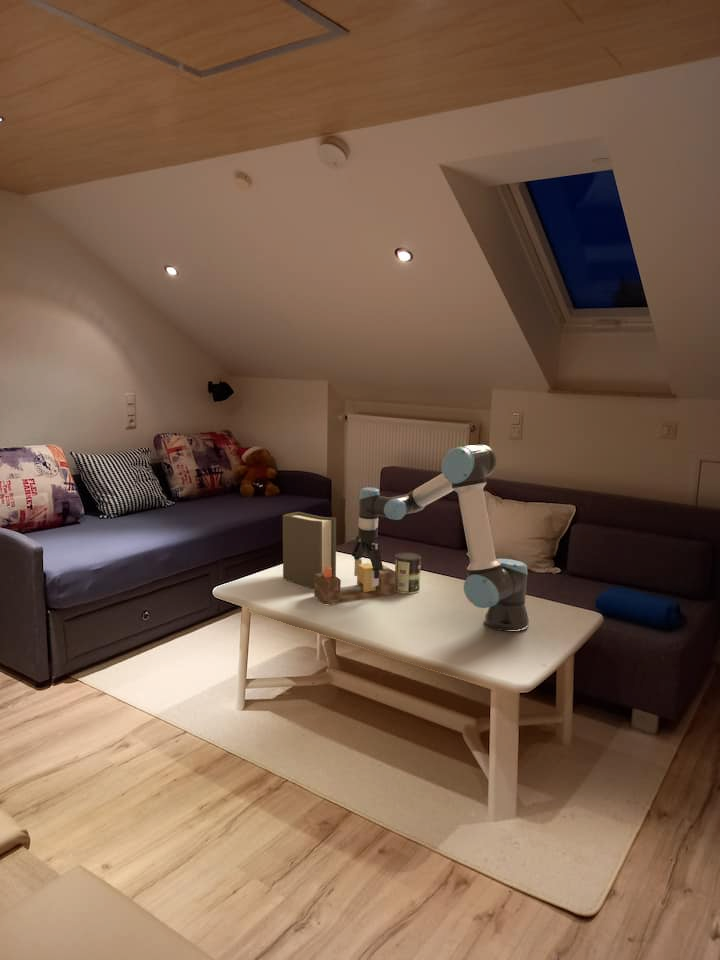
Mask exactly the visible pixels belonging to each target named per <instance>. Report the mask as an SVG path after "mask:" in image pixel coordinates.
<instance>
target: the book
mask: <svg viewBox="0 0 720 960" xmlns="http://www.w3.org/2000/svg"><path fill="white" fill-rule="evenodd" d="M324 567H331V568H332V574H333V575H334V576H336V577H337V517H326V516H319V515H314V514H311V513H306V512H301V511H295V512H289V513H285V514H283V515H282V578H283V579H282V580H284V579H286V580H285V581H288V580H289V581H288V582H291V581H293V582H292V583H295V582H296V583H295V584H300V585H303V586H306V587H310V588H311V589H314V584H315V574H319V573H324Z"/></svg>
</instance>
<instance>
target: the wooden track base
mask: <svg viewBox="0 0 720 960" xmlns="http://www.w3.org/2000/svg"><path fill="white" fill-rule="evenodd" d="M382 566H383V569H382V570H379V583H378V586H376V590H375V591H369V592H363V591H362V592H356V593H349V594H343V595H340V588H341V587H342V586H341V584H342V583H341V582H342V579H340V578H339V577H338V576H337V575H336V576H334V575H333V574H332V578H329V579H324V573H319V574H315V584H314V591H313V592H314V593H313V594H314V595H313V596H315V597H314V598H316V597H317V598H318V599H319V601H320V602H321V601H322V602H323V604H324V605H325V604H329V605H332V604H333V603H335V604H340V603H341V604H342V603H345V602H353V601H359V600H365V599H371V598H376V597H377V598H378V597H383V596H389V595H395V594H396V593H395V592H396V591H395V570H393V569H391V568H389V567H387V566H385V565H384V564H382ZM317 598H316V599H317ZM318 599H317V600H318ZM322 602H321V603H322ZM333 605H334V604H333Z"/></svg>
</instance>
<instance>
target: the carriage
mask: <svg viewBox="0 0 720 960" xmlns="http://www.w3.org/2000/svg"><path fill="white" fill-rule="evenodd" d="M372 569H373V567H372V563H371V562H370V563H369V562H365V563H362V564H358V567H357V576H356V585H361V584H363V592H369V591H375V590H376V586H373V587H372V586H371V581H372Z"/></svg>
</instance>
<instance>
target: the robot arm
mask: <svg viewBox="0 0 720 960" xmlns="http://www.w3.org/2000/svg"><path fill="white" fill-rule="evenodd" d="M497 464H498V459H497V455H496V453H495V450H493V448H491V447H490V446H488V445H486V444H481V443H479V444H478V443H477V444H473V445H472V444H471V445H461V446H460V445H459V446H458V447H454V448H451V449H450V450H448V451H447V452H446V454H445V456H444V457H443V459H442V463H441V471H442V473H440V474H439V475H437V476H435V477H434V478H432V479H430V480H429V481H427V482H425V483H423V484H422V485H419V486H418V487H416V488H415V489H413V490H411V491H410V492H408V493H406V494H401V495H396V496H391V497H388V496H383V495H380V489H379V488H377V487H372V486H371V487H369V486H368V487H363V488H361V489H360V490H359V498H358V501H359V503H358V510H359V511H358V531H357V532H358V534H357V536H356V537H355V538H356V540H355V543H354V545H353V546H354V547H353V548H352V552H351V557H353V559H354V572H353V574H354V575H353V576H355V577H357V567H358V564H363V563H362V562H363V557H362V556H363V554H364V553H365V552H366V554H367V555H368V557H369V560H370V564H371V565H372V567H373V569H372V581H371V586H372V587H373V586H378V583H379V570H382V569H383V566H382V565H383V562H382V557H381V550H380V544H379V543H375V542H376V541H375V540H376V539H377V538H378V537H379V536H378V535H379V534H378V533H379V529H378V528H379V520H380V519H379V516H380V517H382V518H387V519H389V520H396V521H401V520H402V519H403V518H404V517H405V515H408V514H414V513H418V512H420V511H422V510H425V507H426V506H428V505H430V504H431V503H433V502H435V501H437V500H438V499H441V498H442V497H444V496H446V495H448V494H450V493H451V492H453V491H454V492H456V493H457V496H458V501H459V508H460V514H461V518H462V524H463V529H464V535H465V541H466V546H467V551H468V557H469V564H468V566H467V567H466V572H467V577H466V579H465V581H464V583H463V592H464V594H465V597H466V599H467V600H468V601H469V603H471V604H472V605H473V606H474V607H477V608H481V609H487V608H488V609H487V612H486V613H485V616H484V623H485V625H487V626H488V627H489V626H490V627H489V628H491V627H492V628H491V629H494V628H495V629H494V630H497V629H499V630H498V631H501V630H518V629H522V628H524V627H526V626H527V625H528V626H529V621H530V620H529V617H528V612H527V608H526V607H527V606H526V594H527V584H528V582H527V581H528V575H529V573H528V565H527V564H526V563H525V562H522V561H520V560H515V559H511V558H497V557H496V551H495V546H494V541H493V537H492V531H491V524H490V520H489V513H488V508H487V502H486V498H485V492H484V488H485V487H486V485H487V477H489V476H490V475H491V474H493V473H494V471H495V470H496V468H497ZM500 629H501V630H500Z"/></svg>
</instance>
